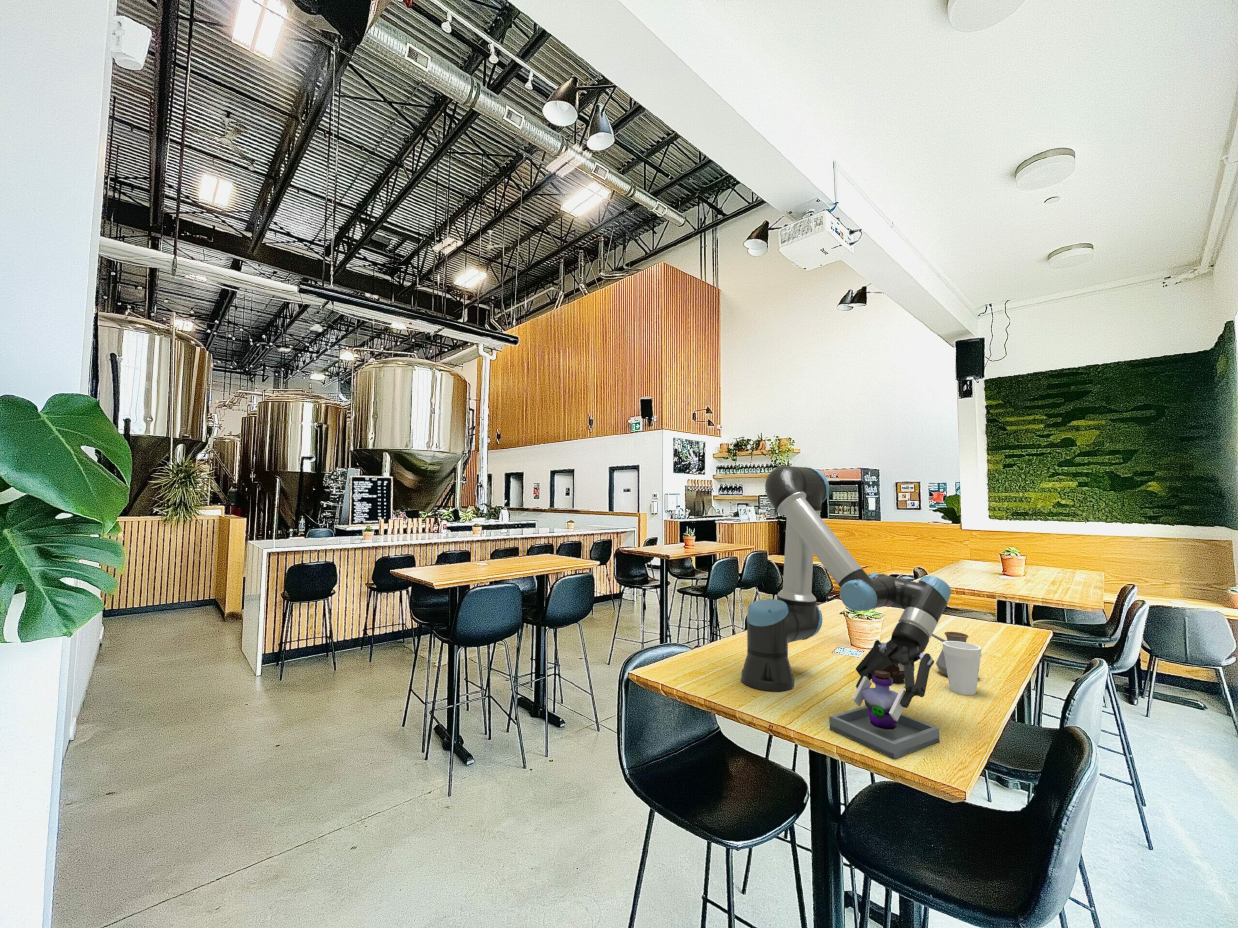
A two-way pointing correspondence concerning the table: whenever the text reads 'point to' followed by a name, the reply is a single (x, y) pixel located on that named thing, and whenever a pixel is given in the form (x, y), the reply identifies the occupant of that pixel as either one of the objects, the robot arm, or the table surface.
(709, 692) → the table surface
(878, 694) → the potion bottle
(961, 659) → the foam cup
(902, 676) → the coffee mug
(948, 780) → the table surface
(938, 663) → the coffee pot
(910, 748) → the tray
